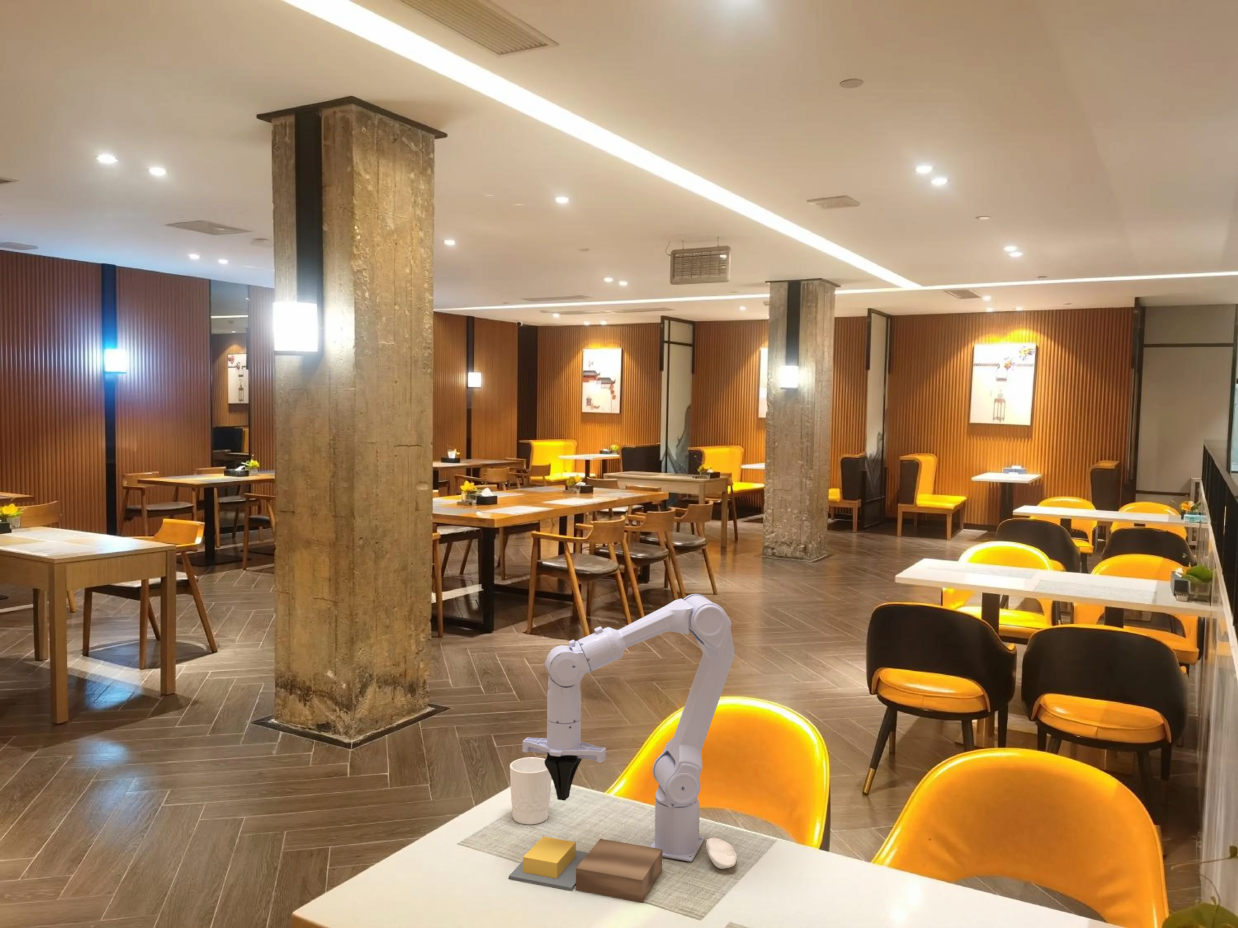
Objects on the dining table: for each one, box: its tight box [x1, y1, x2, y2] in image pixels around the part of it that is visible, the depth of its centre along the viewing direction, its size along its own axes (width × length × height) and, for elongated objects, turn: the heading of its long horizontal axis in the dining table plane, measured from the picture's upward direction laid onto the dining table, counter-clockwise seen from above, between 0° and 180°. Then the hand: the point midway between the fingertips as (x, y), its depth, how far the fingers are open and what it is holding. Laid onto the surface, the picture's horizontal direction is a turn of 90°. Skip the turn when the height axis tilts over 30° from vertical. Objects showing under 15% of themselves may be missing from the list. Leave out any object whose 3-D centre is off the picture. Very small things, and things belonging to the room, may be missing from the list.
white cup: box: [509, 756, 552, 825], centre depth 168 cm, size 8×8×10 cm
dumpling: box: [705, 837, 738, 870], centre depth 150 cm, size 7×5×4 cm
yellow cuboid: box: [522, 836, 577, 878], centre depth 149 cm, size 8×6×2 cm
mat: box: [508, 849, 589, 892], centre depth 149 cm, size 12×11×1 cm
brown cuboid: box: [575, 838, 663, 903], centre depth 145 cm, size 11×11×4 cm
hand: (563, 797), depth 151 cm, fingers closed
